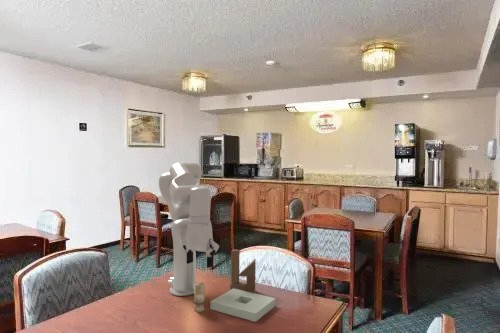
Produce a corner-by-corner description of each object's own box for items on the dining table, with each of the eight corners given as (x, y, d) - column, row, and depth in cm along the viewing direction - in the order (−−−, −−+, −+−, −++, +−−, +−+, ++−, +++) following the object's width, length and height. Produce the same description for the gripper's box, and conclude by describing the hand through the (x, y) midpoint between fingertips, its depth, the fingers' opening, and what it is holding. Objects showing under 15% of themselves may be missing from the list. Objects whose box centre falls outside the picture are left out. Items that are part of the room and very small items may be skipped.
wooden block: (254, 293, 150) (255, 252, 149) (230, 292, 151) (230, 251, 150) (255, 290, 153) (255, 249, 153) (231, 289, 154) (231, 249, 154)
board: (210, 309, 133) (210, 301, 133) (233, 295, 147) (233, 288, 147) (255, 321, 123) (255, 313, 123) (275, 305, 137) (275, 298, 137)
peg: (191, 311, 132) (191, 284, 132) (198, 307, 135) (198, 281, 135) (200, 313, 130) (200, 287, 129) (207, 309, 133) (207, 283, 133)
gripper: (175, 219, 133) (175, 263, 133) (212, 223, 124) (212, 271, 124) (188, 216, 139) (188, 259, 140) (224, 220, 131) (224, 265, 131)
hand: (199, 264), depth 132 cm, fingers open, 9 cm apart
